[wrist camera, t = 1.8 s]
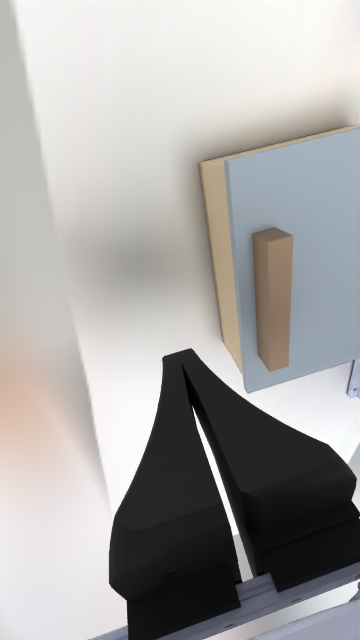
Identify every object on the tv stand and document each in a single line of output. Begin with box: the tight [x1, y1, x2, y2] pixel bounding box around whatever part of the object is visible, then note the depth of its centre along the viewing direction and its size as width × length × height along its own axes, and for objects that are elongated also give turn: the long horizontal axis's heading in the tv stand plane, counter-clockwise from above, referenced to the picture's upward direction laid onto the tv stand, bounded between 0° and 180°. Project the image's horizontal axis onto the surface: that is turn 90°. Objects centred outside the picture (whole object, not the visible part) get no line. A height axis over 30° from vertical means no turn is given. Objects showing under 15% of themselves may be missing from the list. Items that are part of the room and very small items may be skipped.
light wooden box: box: [199, 125, 360, 375], centre depth 19 cm, size 14×10×5 cm
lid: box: [223, 127, 360, 394], centre depth 15 cm, size 15×11×2 cm
